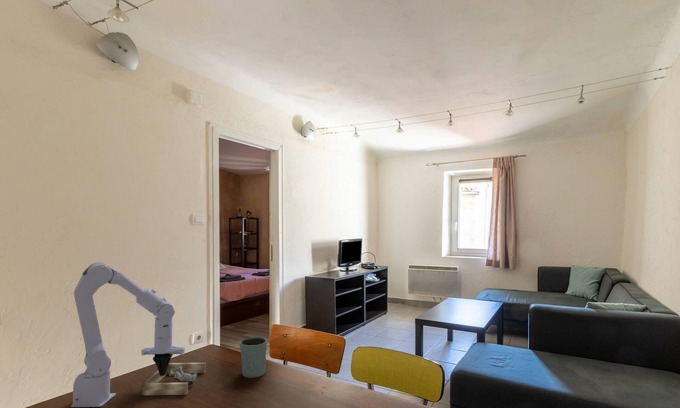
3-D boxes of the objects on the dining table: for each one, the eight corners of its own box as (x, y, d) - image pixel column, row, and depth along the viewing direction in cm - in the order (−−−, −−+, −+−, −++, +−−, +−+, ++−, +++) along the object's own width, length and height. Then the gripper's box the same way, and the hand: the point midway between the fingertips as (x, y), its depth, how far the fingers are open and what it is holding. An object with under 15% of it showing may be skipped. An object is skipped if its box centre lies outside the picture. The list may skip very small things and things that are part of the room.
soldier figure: (182, 377, 136) (206, 371, 132) (177, 390, 132) (201, 384, 128) (167, 367, 132) (192, 361, 128) (161, 380, 128) (186, 374, 124)
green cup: (260, 379, 131) (260, 346, 132) (234, 377, 133) (234, 344, 134) (270, 368, 141) (270, 337, 142) (246, 366, 143) (247, 335, 144)
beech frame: (141, 395, 120) (141, 384, 120) (166, 372, 138) (166, 363, 138) (186, 394, 120) (186, 383, 120) (205, 371, 138) (205, 362, 138)
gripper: (188, 332, 134) (187, 369, 133) (148, 333, 133) (148, 370, 133) (180, 338, 127) (179, 378, 126) (138, 339, 126) (137, 378, 126)
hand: (162, 374), depth 129 cm, fingers closed
